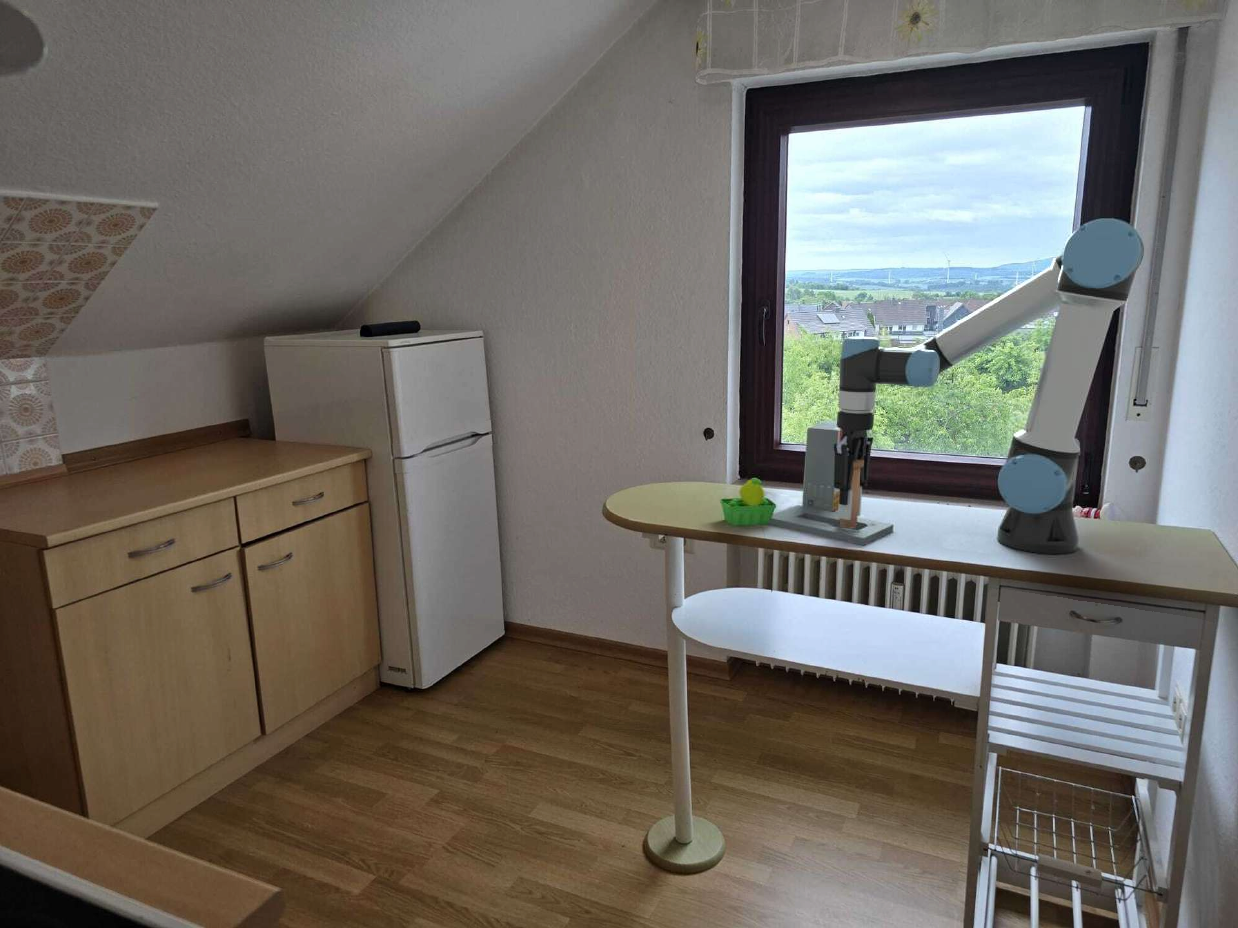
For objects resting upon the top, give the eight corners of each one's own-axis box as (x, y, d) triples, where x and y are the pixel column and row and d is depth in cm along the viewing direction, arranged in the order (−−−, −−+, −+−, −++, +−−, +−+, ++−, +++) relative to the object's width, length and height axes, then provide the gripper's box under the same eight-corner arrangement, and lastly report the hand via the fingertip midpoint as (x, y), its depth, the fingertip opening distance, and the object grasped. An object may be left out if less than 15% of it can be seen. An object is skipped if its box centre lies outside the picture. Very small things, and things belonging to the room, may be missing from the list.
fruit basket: (765, 517, 196) (767, 470, 194) (778, 528, 188) (780, 479, 185) (718, 520, 194) (719, 472, 192) (729, 530, 186) (731, 481, 183)
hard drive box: (832, 513, 198) (837, 430, 194) (801, 509, 202) (805, 427, 198) (850, 499, 211) (855, 421, 207) (820, 495, 215) (824, 418, 211)
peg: (863, 525, 184) (868, 459, 181) (853, 529, 180) (857, 463, 177) (843, 521, 187) (847, 456, 184) (832, 525, 184) (836, 459, 180)
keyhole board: (893, 530, 184) (893, 524, 184) (862, 545, 174) (863, 538, 174) (797, 511, 200) (797, 505, 200) (764, 523, 190) (765, 516, 190)
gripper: (858, 404, 187) (851, 506, 192) (820, 412, 175) (814, 520, 180) (890, 408, 182) (882, 512, 187) (853, 416, 170) (846, 527, 175)
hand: (849, 516), depth 183 cm, fingers closed on peg, 4 cm apart
